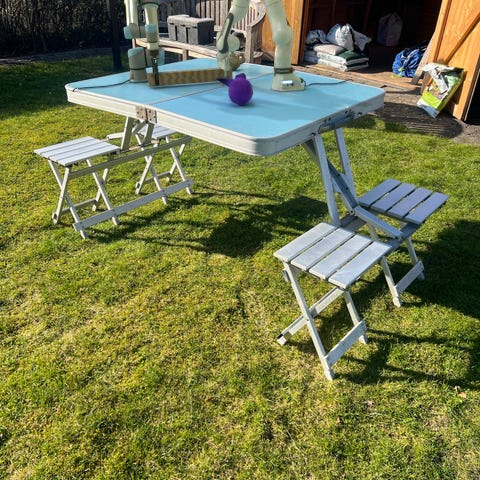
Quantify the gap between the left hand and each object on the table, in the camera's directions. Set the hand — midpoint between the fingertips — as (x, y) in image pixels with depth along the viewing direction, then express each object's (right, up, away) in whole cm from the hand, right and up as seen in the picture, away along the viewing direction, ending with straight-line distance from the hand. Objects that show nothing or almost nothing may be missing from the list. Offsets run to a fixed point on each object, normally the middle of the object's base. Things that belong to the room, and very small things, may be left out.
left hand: (156, 84), depth 317 cm
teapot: (+53, +31, +55) cm, 83 cm away
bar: (+24, +3, +6) cm, 25 cm away
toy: (+57, -25, -41) cm, 74 cm away
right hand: (+47, +10, +11) cm, 49 cm away
